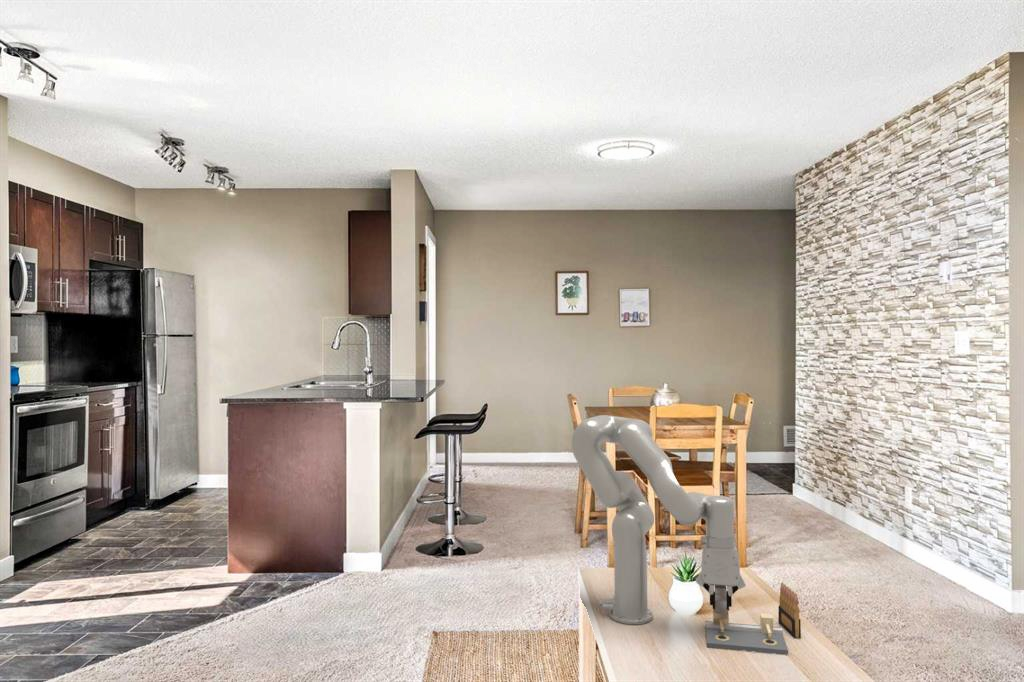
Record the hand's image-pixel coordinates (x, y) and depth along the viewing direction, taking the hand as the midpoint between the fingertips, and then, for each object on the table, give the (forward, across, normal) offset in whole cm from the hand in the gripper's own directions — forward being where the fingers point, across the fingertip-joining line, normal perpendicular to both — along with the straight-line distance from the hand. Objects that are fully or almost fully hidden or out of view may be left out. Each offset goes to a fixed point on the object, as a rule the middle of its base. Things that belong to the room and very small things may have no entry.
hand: (720, 607), depth 191 cm
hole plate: (+7, +6, -4) cm, 10 cm away
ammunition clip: (+7, +18, +6) cm, 21 cm away
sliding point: (+5, 0, -3) cm, 6 cm away
